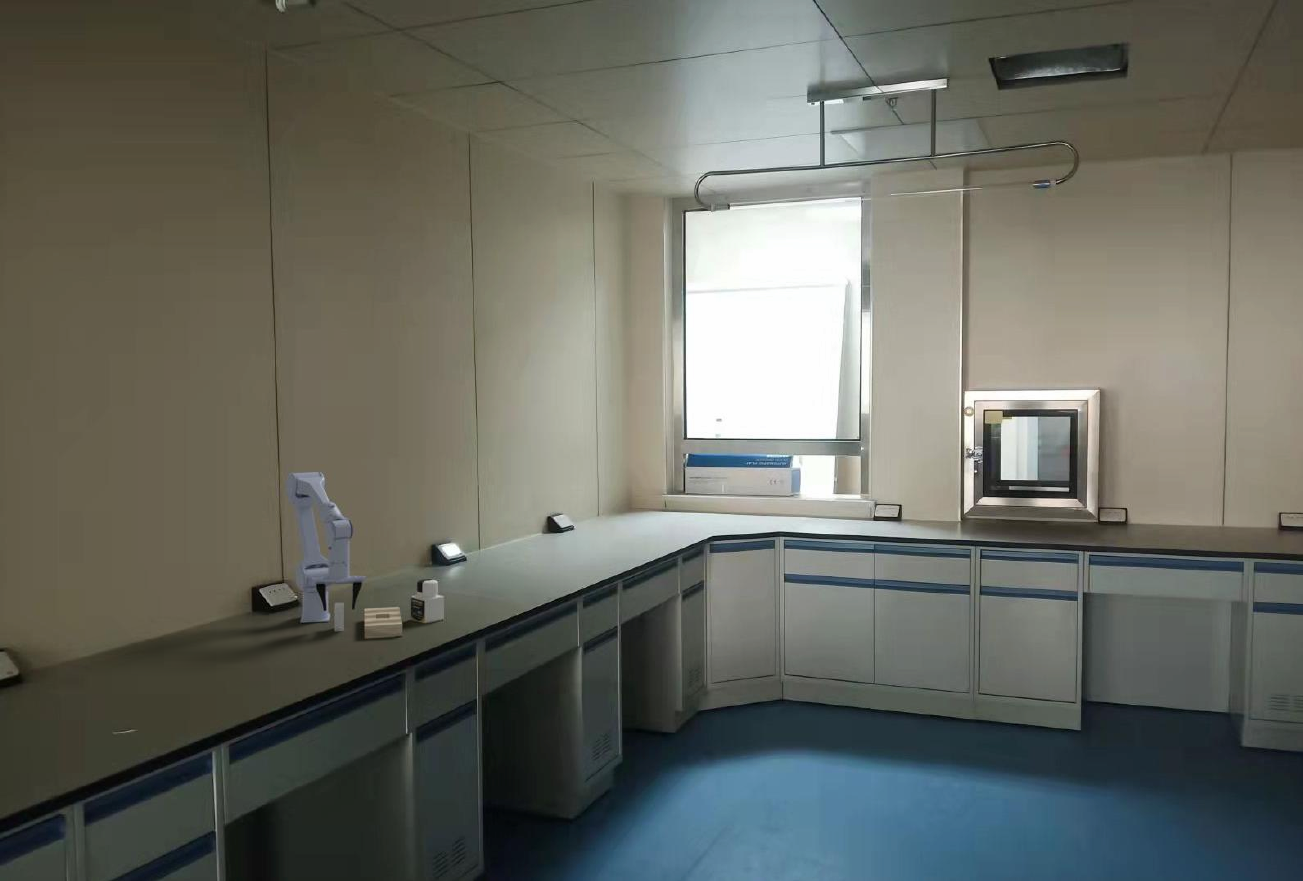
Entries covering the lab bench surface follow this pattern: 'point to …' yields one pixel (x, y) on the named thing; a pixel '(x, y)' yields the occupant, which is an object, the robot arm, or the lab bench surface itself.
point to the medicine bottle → (427, 602)
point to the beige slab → (383, 622)
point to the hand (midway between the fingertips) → (339, 609)
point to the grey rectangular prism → (339, 616)
